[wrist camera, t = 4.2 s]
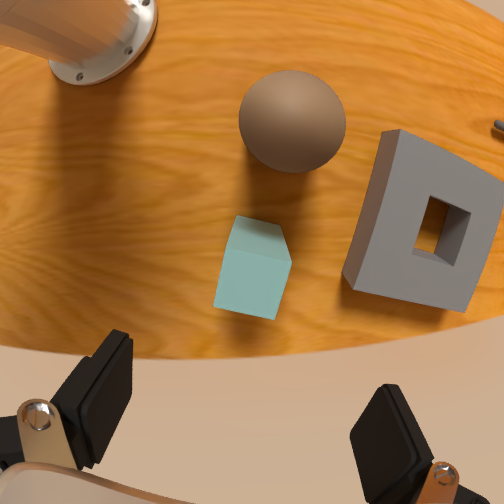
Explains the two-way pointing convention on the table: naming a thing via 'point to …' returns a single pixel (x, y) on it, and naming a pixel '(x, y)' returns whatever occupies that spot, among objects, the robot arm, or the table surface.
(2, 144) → the table surface
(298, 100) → the round plug
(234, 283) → the square peg
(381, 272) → the socket block
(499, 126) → the walkie-talkie
